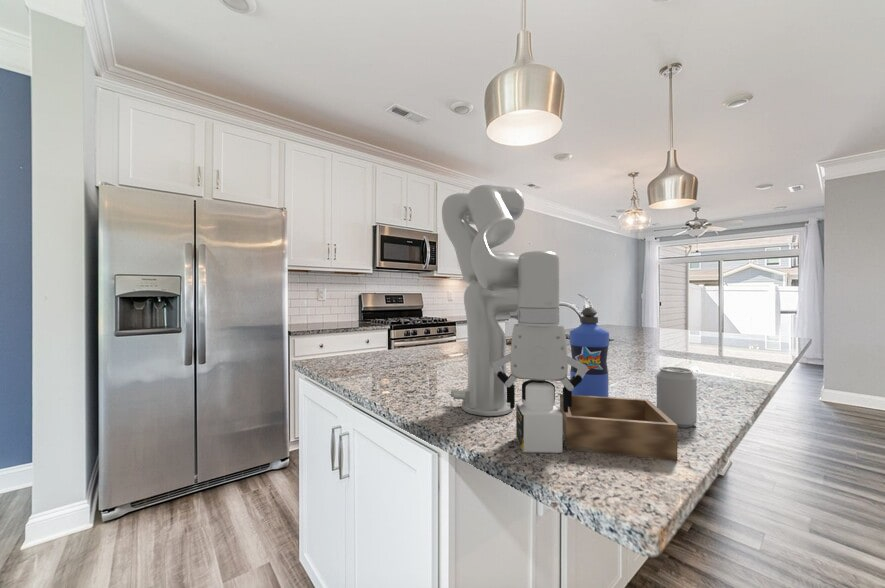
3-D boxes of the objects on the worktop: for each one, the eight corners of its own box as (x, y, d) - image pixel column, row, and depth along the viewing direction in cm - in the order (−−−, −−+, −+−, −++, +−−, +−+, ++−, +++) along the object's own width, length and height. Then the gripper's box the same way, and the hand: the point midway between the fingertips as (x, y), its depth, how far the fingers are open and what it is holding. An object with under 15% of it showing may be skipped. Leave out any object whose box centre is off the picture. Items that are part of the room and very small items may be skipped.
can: (703, 429, 77) (703, 372, 77) (664, 427, 79) (664, 371, 79) (687, 418, 85) (687, 366, 85) (651, 416, 86) (651, 364, 86)
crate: (566, 449, 67) (566, 416, 67) (559, 420, 83) (559, 394, 83) (677, 460, 63) (677, 425, 63) (648, 427, 78) (648, 399, 78)
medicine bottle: (515, 437, 73) (516, 377, 73) (552, 438, 73) (552, 377, 73) (522, 453, 66) (522, 385, 66) (563, 453, 65) (563, 386, 66)
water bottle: (570, 399, 99) (570, 307, 99) (608, 403, 96) (608, 307, 96) (568, 409, 91) (568, 308, 91) (610, 414, 87) (610, 308, 87)
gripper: (490, 318, 68) (490, 411, 67) (590, 319, 64) (590, 418, 63) (494, 315, 75) (494, 400, 75) (584, 317, 71) (584, 406, 71)
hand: (538, 408), depth 69 cm, fingers open, 9 cm apart
